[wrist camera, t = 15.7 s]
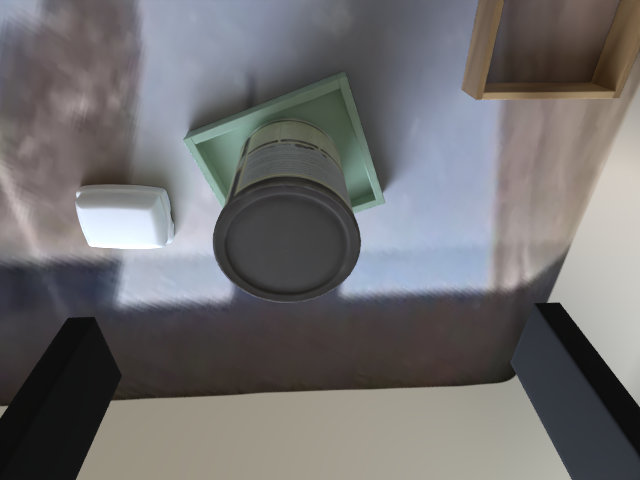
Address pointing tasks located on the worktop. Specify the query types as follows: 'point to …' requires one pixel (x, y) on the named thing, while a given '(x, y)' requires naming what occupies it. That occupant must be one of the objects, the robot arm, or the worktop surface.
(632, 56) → the can stand
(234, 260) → the coffee can
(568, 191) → the worktop surface
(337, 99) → the tray
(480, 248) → the worktop surface
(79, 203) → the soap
